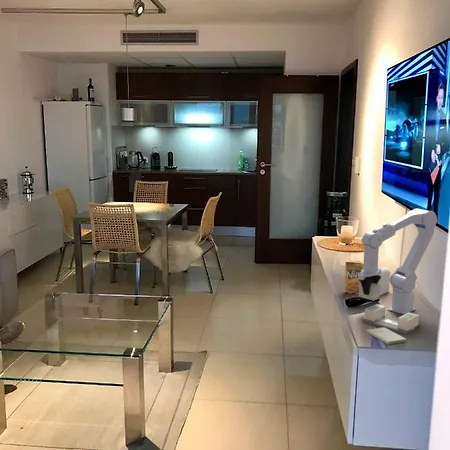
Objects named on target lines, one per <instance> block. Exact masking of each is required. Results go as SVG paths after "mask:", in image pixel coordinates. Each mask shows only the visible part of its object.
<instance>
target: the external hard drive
mask: <svg viewBox="0 0 450 450" xmlns="http://www.w3.org/2000/svg"><path fill="white" fill-rule="evenodd" d="M366 332H367V333H368V334H369V335H371V336H373V337H375V338H376V339H377V340H379V341H382V342H383V343H384V344H386V345H394V344H399V343H406V342H407V341H408V339H407V338H406V337H403V336H401V335H400V334H398V333H397V332H395V331H392V330H389V329H387V328H384V327H383V328H382V327H378V328H371V329H367V330H366Z"/></svg>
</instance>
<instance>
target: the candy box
mask: <svg viewBox="0 0 450 450" xmlns="http://www.w3.org/2000/svg"><path fill="white" fill-rule="evenodd" d="M363 263H364V261H360V260H351V259H347V260H345V266H344V267H345V269H344V270H345V271H344V291H343V293H345V292H348V294H352V293H358V294H359V283H360V281H359V279H358V277H359V274H361V273H362V272H361V270H363ZM358 294H357V295H358Z"/></svg>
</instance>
